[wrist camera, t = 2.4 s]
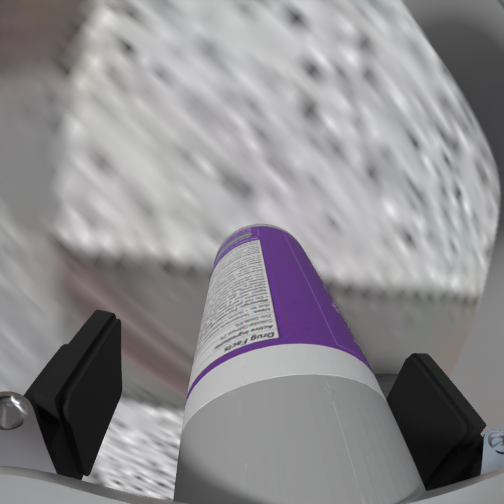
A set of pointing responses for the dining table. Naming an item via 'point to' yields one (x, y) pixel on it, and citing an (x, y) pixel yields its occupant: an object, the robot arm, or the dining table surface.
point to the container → (284, 391)
